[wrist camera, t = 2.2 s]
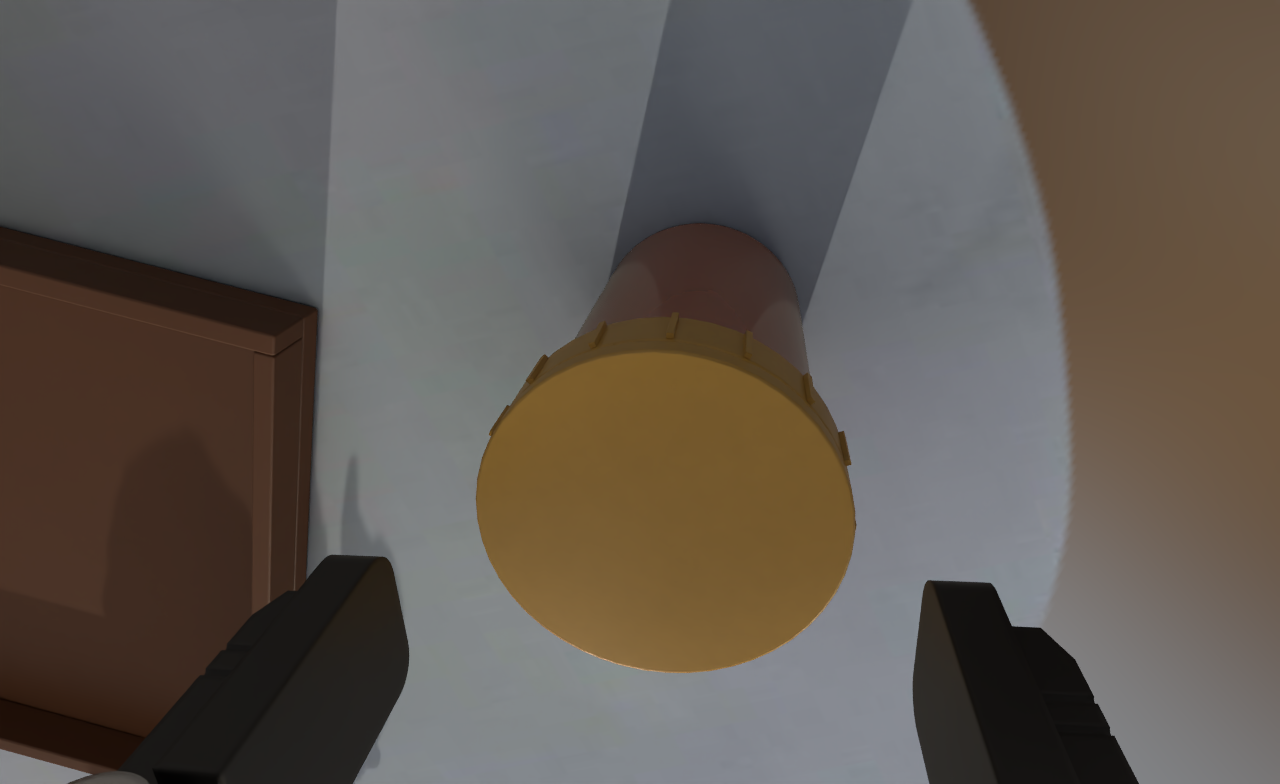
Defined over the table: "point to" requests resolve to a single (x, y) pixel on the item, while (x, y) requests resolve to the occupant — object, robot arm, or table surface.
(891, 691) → the table surface
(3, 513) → the tray
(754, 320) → the jar
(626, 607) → the jar lid
